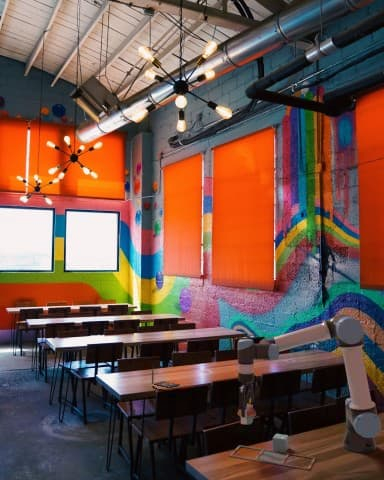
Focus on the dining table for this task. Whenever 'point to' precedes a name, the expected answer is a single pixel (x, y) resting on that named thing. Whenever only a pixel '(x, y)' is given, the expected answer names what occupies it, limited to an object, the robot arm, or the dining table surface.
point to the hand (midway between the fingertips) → (247, 421)
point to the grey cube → (280, 443)
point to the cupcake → (249, 413)
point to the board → (273, 457)
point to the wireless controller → (163, 382)
